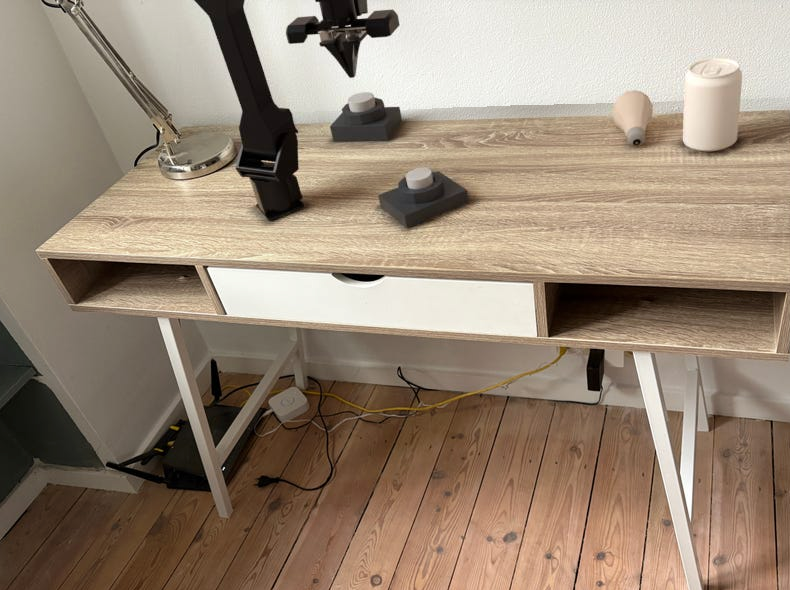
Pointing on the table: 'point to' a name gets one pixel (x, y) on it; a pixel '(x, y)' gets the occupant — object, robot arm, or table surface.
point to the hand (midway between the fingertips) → (352, 76)
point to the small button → (419, 178)
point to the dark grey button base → (423, 200)
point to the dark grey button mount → (366, 123)
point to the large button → (361, 102)
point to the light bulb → (633, 115)
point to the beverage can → (712, 104)
